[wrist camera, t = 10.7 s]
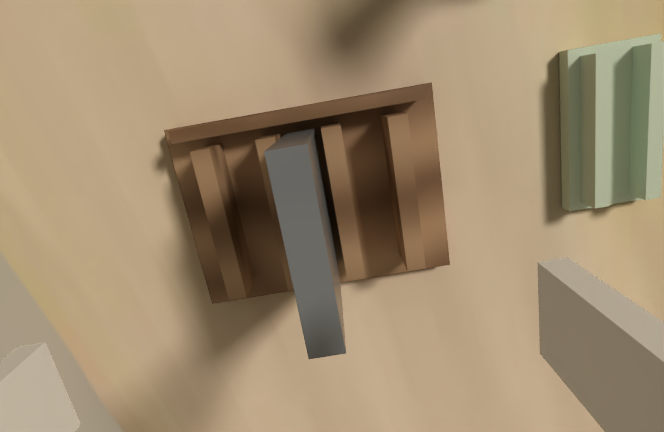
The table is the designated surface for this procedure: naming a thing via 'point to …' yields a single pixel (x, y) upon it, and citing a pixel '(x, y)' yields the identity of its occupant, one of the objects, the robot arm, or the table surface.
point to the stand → (612, 122)
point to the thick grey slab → (308, 240)
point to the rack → (340, 185)
